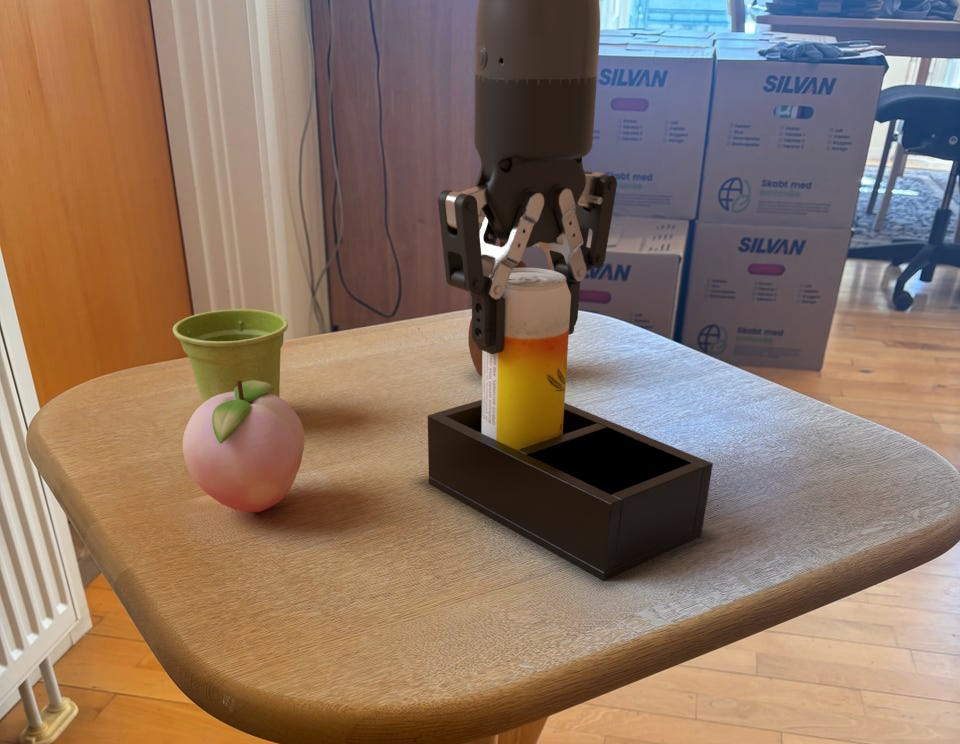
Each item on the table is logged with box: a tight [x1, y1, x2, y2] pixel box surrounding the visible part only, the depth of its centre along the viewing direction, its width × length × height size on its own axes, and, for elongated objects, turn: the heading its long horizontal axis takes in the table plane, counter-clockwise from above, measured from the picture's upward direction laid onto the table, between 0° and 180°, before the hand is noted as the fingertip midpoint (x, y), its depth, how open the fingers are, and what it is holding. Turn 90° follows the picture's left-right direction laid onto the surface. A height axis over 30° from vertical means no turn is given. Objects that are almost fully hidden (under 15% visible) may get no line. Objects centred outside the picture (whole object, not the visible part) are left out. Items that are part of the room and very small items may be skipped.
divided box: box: [427, 399, 714, 582], centre depth 71 cm, size 10×19×6 cm, turn 40°
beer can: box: [481, 267, 571, 450], centre depth 71 cm, size 6×6×15 cm
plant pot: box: [172, 308, 289, 404], centre depth 84 cm, size 9×9×9 cm
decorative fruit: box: [182, 380, 306, 513], centre depth 69 cm, size 9×8×10 cm
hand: (525, 340), depth 69 cm, fingers closed on beer can, 6 cm apart
